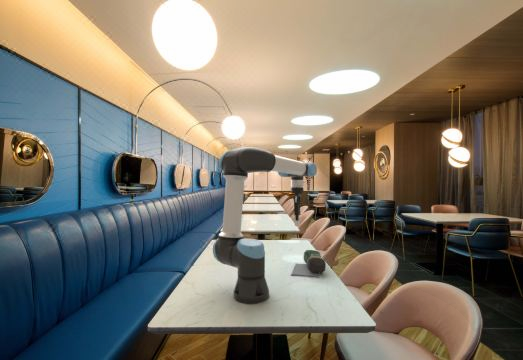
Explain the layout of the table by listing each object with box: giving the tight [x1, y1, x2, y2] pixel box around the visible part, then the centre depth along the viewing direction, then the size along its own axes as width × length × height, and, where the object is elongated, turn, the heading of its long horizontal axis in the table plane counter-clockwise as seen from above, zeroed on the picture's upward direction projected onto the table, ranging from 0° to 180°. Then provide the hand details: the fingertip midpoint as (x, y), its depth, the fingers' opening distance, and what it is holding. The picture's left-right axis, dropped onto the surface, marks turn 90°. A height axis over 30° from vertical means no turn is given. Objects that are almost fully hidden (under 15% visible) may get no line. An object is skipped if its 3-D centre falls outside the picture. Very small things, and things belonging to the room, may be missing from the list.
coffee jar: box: [303, 249, 327, 274], centre depth 146 cm, size 10×8×19 cm
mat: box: [290, 263, 320, 278], centre depth 145 cm, size 18×14×1 cm
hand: (297, 225), depth 162 cm, fingers closed
